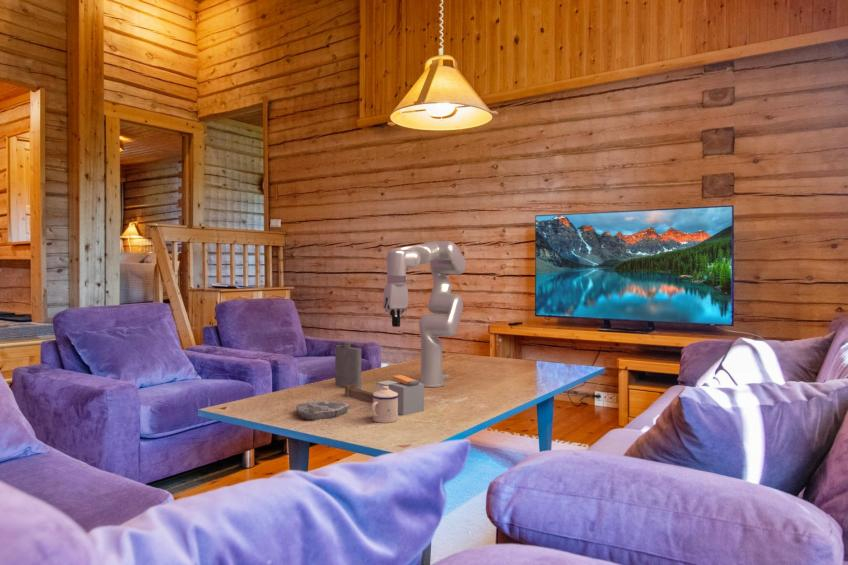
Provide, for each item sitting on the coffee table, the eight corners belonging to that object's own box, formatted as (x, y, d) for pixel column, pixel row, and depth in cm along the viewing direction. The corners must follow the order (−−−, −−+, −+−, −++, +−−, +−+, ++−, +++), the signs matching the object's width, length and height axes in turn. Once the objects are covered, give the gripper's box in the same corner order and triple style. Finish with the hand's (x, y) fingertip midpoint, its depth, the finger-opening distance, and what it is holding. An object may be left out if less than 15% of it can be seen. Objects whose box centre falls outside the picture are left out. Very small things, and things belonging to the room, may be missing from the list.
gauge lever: (401, 378, 223) (401, 374, 223) (418, 384, 216) (419, 380, 216) (392, 379, 220) (392, 375, 220) (410, 386, 213) (410, 382, 213)
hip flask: (362, 389, 255) (362, 342, 254) (355, 390, 252) (355, 343, 251) (339, 383, 266) (339, 339, 265) (332, 384, 263) (332, 340, 262)
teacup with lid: (382, 415, 212) (382, 382, 211) (403, 418, 207) (403, 385, 206) (361, 422, 202) (361, 388, 201) (383, 426, 197) (383, 391, 196)
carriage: (388, 400, 230) (388, 380, 229) (398, 403, 225) (399, 382, 225) (376, 403, 226) (376, 382, 225) (387, 405, 221) (387, 384, 221)
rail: (354, 394, 244) (354, 383, 244) (403, 407, 223) (403, 395, 223) (344, 396, 241) (344, 385, 241) (393, 409, 219) (393, 397, 219)
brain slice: (324, 406, 225) (324, 398, 225) (356, 413, 215) (356, 405, 215) (282, 416, 210) (282, 407, 210) (314, 424, 200) (314, 415, 199)
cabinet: (408, 406, 224) (408, 380, 224) (423, 410, 218) (423, 383, 218) (388, 411, 218) (388, 384, 217) (403, 415, 212) (403, 387, 211)
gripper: (404, 280, 244) (403, 324, 244) (375, 280, 233) (375, 326, 234) (416, 280, 238) (416, 326, 239) (388, 281, 228) (387, 328, 229)
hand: (396, 326), depth 236 cm, fingers closed
